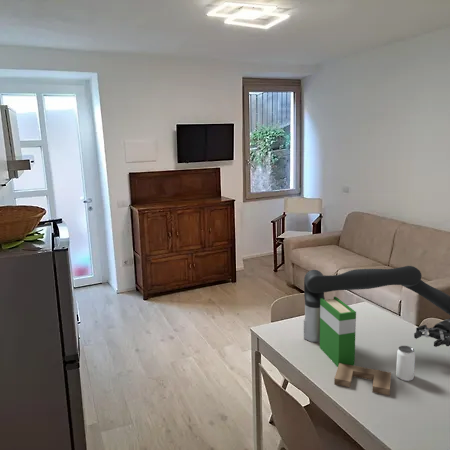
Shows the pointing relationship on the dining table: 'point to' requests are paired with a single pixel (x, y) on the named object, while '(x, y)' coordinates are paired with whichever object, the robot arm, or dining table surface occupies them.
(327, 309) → the hardback book
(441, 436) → the dining table surface
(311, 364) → the dining table surface
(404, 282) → the robot arm
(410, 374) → the can
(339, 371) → the notched board
